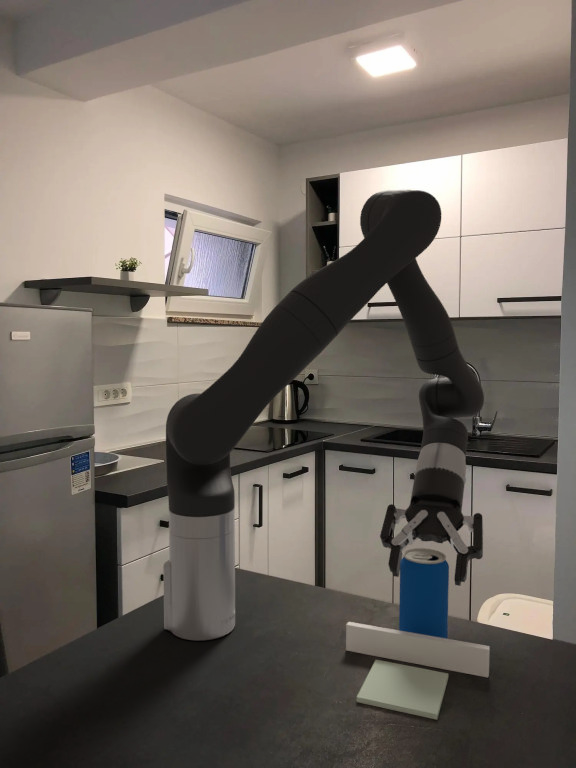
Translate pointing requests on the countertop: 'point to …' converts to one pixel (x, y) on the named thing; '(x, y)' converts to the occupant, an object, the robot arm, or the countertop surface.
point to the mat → (404, 689)
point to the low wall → (418, 649)
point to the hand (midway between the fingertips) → (425, 578)
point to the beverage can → (424, 592)
